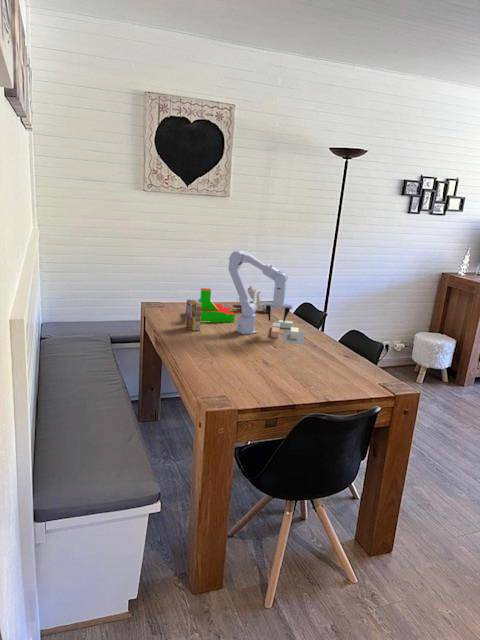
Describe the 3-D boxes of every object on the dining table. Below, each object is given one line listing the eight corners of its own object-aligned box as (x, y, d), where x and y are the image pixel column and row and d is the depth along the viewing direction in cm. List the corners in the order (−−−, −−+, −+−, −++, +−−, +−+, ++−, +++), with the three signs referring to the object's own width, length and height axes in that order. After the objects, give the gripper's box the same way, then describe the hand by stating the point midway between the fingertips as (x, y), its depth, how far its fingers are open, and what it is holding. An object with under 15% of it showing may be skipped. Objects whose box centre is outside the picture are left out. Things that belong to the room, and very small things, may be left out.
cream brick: (297, 339, 249) (298, 332, 248) (290, 338, 249) (290, 331, 248) (297, 334, 257) (298, 327, 256) (290, 334, 257) (291, 327, 256)
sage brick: (292, 328, 271) (292, 321, 270) (292, 330, 267) (292, 323, 266) (278, 326, 272) (278, 320, 271) (277, 328, 268) (278, 321, 267)
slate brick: (279, 333, 258) (279, 326, 257) (271, 333, 259) (272, 326, 258) (279, 329, 266) (280, 322, 265) (272, 329, 267) (273, 322, 265)
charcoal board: (304, 345, 242) (304, 344, 242) (282, 342, 243) (283, 341, 243) (303, 333, 263) (303, 331, 263) (283, 330, 264) (284, 329, 264)
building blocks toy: (234, 323, 271) (237, 292, 266) (190, 322, 267) (192, 290, 262) (230, 315, 289) (232, 285, 284) (188, 313, 284) (190, 283, 280)
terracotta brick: (278, 339, 249) (279, 332, 248) (270, 338, 249) (271, 331, 248) (278, 334, 257) (279, 327, 255) (271, 334, 257) (272, 327, 256)
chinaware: (276, 314, 304) (280, 289, 302) (264, 316, 290) (268, 289, 287) (239, 306, 318) (243, 281, 315) (226, 307, 304) (229, 282, 301)
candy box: (200, 330, 252) (202, 302, 248) (194, 331, 249) (195, 303, 245) (191, 326, 258) (193, 298, 254) (184, 327, 256) (186, 299, 252)
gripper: (264, 295, 244) (262, 321, 247) (293, 298, 243) (290, 324, 246) (265, 293, 251) (263, 318, 254) (293, 295, 249) (290, 320, 253)
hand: (276, 320), depth 251 cm, fingers open, 7 cm apart
